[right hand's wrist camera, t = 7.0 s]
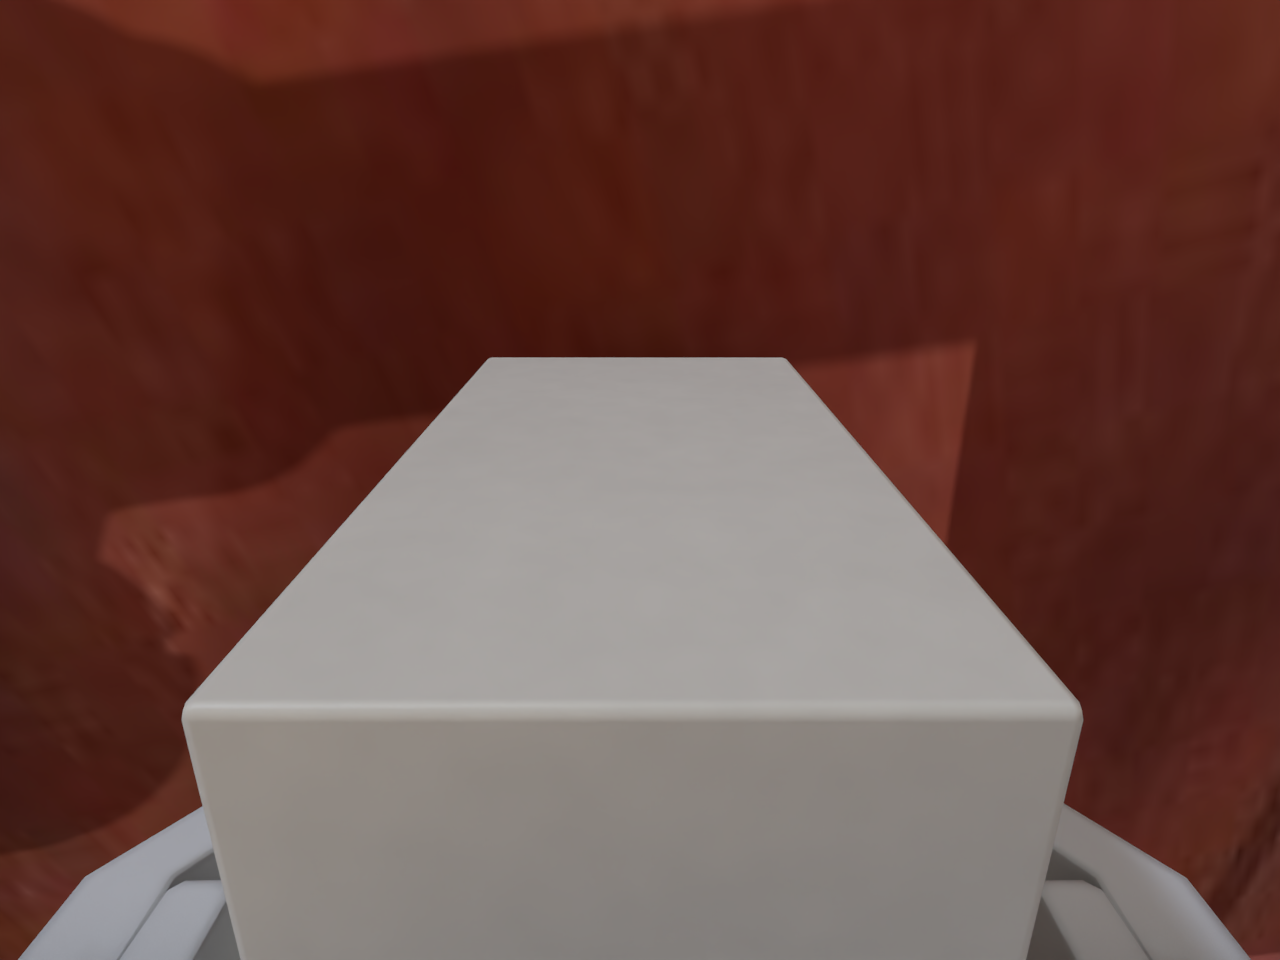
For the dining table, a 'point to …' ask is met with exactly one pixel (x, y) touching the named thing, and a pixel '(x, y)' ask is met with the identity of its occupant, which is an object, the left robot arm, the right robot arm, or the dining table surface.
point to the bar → (633, 697)
